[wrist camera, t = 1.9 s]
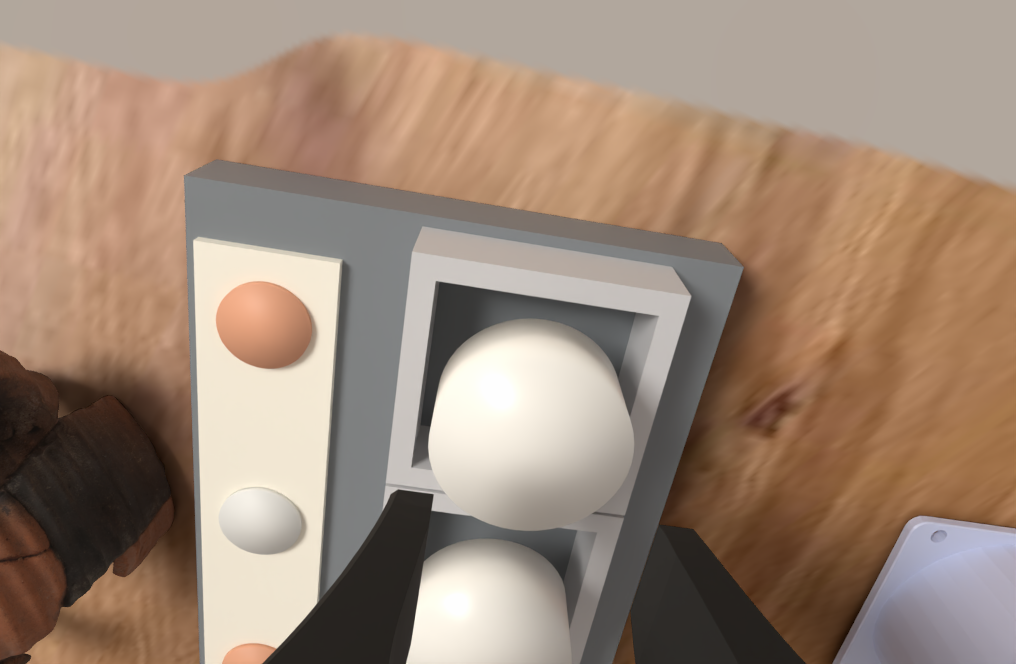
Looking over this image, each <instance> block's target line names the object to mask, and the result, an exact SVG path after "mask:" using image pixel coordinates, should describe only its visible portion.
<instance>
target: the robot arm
mask: <svg viewBox="0 0 1016 664" xmlns="http://www.w3.org/2000/svg"><path fill="white" fill-rule="evenodd" d="M433 497H434V494H429V493H422V492H414V491H407V490H400V489H398V490H396V491H395V492H393V493H391V495H390V497H389V499H388V502H387V504H386V506H385V508H384V510H383V511H382V513H381V515H380V517H379V519H378V520H377V522H376V524H375V525H374V527H373V529H372V530H371V532H370V533H369V535H368V536H367V538H366V539H365V541H364V543H363V544H362V545H361V547H360V548H359V550H358V551H357V552H356V554H355V555H354V557H353V558H352V559H351V561H350V562H349V564H348V565H347V566H346V568H345V569H344V571H343V572H342V573H341V575H340V576H339V577H338V579H337V580H336V581H335V582H334V584H333V585H332V586H331V587H330V588H329V590H328V591H327V592H326V593H325V594H324V596H323V597H322V598H321V599H320V601H319V602H318V603H317V604H316V605H315V607H314V608H313V609H312V610H311V611H310V613H309V614H308V615H307V616H306V617H305V619H304V620H303V621H302V622H301V623H300V624H299V625H298V626H297V627H296V629H295V630H294V631H293V632H292V633H291V634H290V635H289V636H288V637H287V638H286V639H285V641H284V642H283V643H282V644H281V645H280V646H279V647H278V648H277V649H276V650H275V651H274V652H273V653H272V654H271V655H270V656H269V657H268V658H267V659H266V660H265V661H264V662H263V663H262V664H406V662H407V658H408V654H409V650H410V646H411V641H412V634H413V628H414V621H415V615H416V609H417V602H418V596H419V589H420V583H421V576H422V570H423V563H424V556H425V550H426V543H427V537H428V530H429V523H430V517H431V510H432V504H433ZM936 531H938V532H936ZM934 532H936V533H934ZM933 533H934V534H933ZM630 612H631V623H632V635H633V645H634V654H635V663H636V664H806V663H805V662H804V661H803V660H802V659H801V658H800V657H799V656H798V655H797V654H796V652H795V651H794V650H793V649H792V648H791V647H790V646H789V645H788V643H787V642H786V641H785V640H784V639H783V638H782V637H781V636H780V634H779V633H778V632H777V631H776V630H775V629H774V627H773V626H772V625H771V624H770V623H769V622H768V620H767V619H766V618H765V617H764V616H763V614H762V613H761V612H760V611H759V610H758V608H757V607H756V606H755V605H754V604H753V602H752V601H751V600H750V599H749V598H748V596H747V595H746V594H745V593H744V591H743V590H742V589H741V588H740V587H739V585H738V584H737V583H736V582H735V580H734V579H733V578H732V577H731V575H730V574H729V573H728V572H727V570H726V569H725V568H724V567H723V565H722V564H721V563H720V562H719V560H718V559H717V558H716V556H715V555H714V554H713V553H712V551H711V550H710V549H709V548H708V546H707V545H706V544H705V543H704V542H703V540H702V539H701V538H700V537H699V535H698V534H697V533H696V532H695V531H694V530H693V529H688V528H680V527H673V526H666V525H659V526H658V529H657V532H656V535H655V538H654V541H653V544H652V547H651V550H650V553H649V556H648V559H647V562H646V565H645V568H644V571H643V574H642V577H641V580H640V583H639V586H638V589H637V592H636V595H635V598H634V601H633V604H632V607H631V610H630ZM832 664H1016V529H1015V528H1008V527H1001V526H994V525H987V524H979V523H972V522H965V521H958V520H951V519H944V518H937V517H929V516H918V517H915V518H912V519H911V520H909V521H908V522H907V524H906V525H905V527H904V529H903V531H902V532H901V534H900V536H899V538H898V540H897V542H896V544H895V546H894V548H893V549H892V551H891V553H890V555H889V557H888V559H887V561H886V563H885V565H884V567H883V568H882V570H881V572H880V574H879V576H878V578H877V580H876V582H875V584H874V586H873V587H872V589H871V591H870V593H869V595H868V597H867V599H866V601H865V603H864V605H863V606H862V608H861V610H860V612H859V614H858V616H857V618H856V620H855V622H854V624H853V625H852V627H851V629H850V631H849V633H848V635H847V637H846V639H845V641H844V643H843V644H842V646H841V648H840V650H839V652H838V654H837V656H836V658H835V660H834V661H833V663H832Z"/></svg>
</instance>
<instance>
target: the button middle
mask: <svg viewBox="0 0 1016 664" xmlns="http://www.w3.org/2000/svg"><path fill="white" fill-rule="evenodd" d="M406 664H572V653H571V643H570V633H569V623H568V613H567V603H566V593H565V587H564V584H563V581H562V579H561V577H560V575H559V573H558V571H557V570H556V569H555V568H554V566H553V565H552V564H551V563H550V562H549V561H548V560H547V559H546V558H544V557H543V556H542V555H540V554H539V553H537V552H536V551H534V550H532V549H530V548H528V547H526V546H523V545H521V544H518V543H514V542H511V541H506V540H501V539H472V540H466V541H462V542H458V543H455V544H452V545H449V546H447V547H445V548H443V549H441V550H439V551H437V552H436V553H434V554H432V555H431V556H430V557H429V558H427V559H426V560H425V561H424V563H423V570H422V576H421V583H420V589H419V596H418V602H417V609H416V615H415V621H414V628H413V634H412V641H411V646H410V650H409V654H408V658H407V662H406Z"/></svg>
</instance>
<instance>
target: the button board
mask: <svg viewBox="0 0 1016 664" xmlns="http://www.w3.org/2000/svg"><path fill="white" fill-rule="evenodd" d="M184 186H185V217H186V248H187V279H188V310H189V341H190V373H191V404H192V435H193V466H194V497H195V528H196V559H197V590H198V621H199V652H200V664H262V663H263V662H264V661H265V660H266V659H267V658H268V657H269V656H270V655H271V654H272V653H273V652H274V651H275V650H276V649H277V648H278V647H279V646H280V645H281V644H282V643H283V642H284V641H285V639H286V638H287V637H288V636H289V635H290V634H291V633H292V632H293V631H294V630H295V629H296V627H297V626H298V625H299V624H300V623H301V622H302V621H303V620H304V619H305V617H306V616H307V615H308V614H309V613H310V611H311V610H312V609H313V608H314V607H315V605H316V604H317V603H318V602H319V601H320V599H321V598H322V597H323V596H324V594H325V593H326V592H327V591H328V590H329V588H330V587H331V586H332V585H333V584H334V582H335V581H336V580H337V579H338V577H339V576H340V575H341V573H342V572H343V571H344V569H345V568H346V566H347V565H348V564H349V562H350V561H351V559H352V558H353V557H354V555H355V554H356V552H357V551H358V550H359V548H360V547H361V545H362V544H363V543H364V541H365V539H366V538H367V536H368V535H369V533H370V532H371V530H372V529H373V527H374V525H375V524H376V522H377V520H378V519H379V517H380V515H381V513H382V511H383V510H384V508H385V506H386V504H387V502H388V499H389V497H390V495H391V493H393V492H395V491H396V490H398V489H400V490H407V491H414V492H422V493H429V494H434V497H433V504H432V510H431V517H430V523H429V530H428V537H427V543H426V550H425V556H424V561H425V560H426V559H427V558H429V557H430V556H431V555H432V554H434V553H436V552H437V551H439V550H441V549H443V548H445V547H447V546H449V545H452V544H455V543H458V542H462V541H466V540H472V539H501V540H506V541H511V542H514V543H518V544H521V545H523V546H526V547H528V548H530V549H532V550H534V551H536V552H537V553H539V554H540V555H542V556H543V557H544V558H546V559H547V560H548V561H549V562H550V563H551V564H552V565H553V566H554V568H555V569H556V570H557V571H558V573H559V575H560V577H561V579H562V581H563V584H564V587H565V593H566V603H567V613H568V623H569V633H570V643H571V653H572V664H612V662H613V659H614V656H615V653H616V650H617V647H618V644H619V641H620V638H621V635H622V632H623V629H624V626H625V623H626V620H627V617H628V614H629V611H630V608H631V605H632V602H633V599H634V596H635V593H636V590H637V587H638V584H639V581H640V578H641V575H642V572H643V569H644V566H645V563H646V560H647V557H648V554H649V551H650V548H651V545H652V542H653V539H654V536H655V533H656V530H657V527H658V524H659V521H660V518H661V515H662V512H663V509H664V506H665V503H666V500H667V497H668V494H669V491H670V488H671V485H672V482H673V479H674V476H675V473H676V470H677V467H678V464H679V461H680V458H681V455H682V452H683V449H684V446H685V443H686V440H687V437H688V434H689V431H690V428H691V425H692V422H693V419H694V416H695V413H696V410H697V407H698V404H699V401H700V398H701V395H702V391H703V388H704V385H705V382H706V379H707V376H708V373H709V370H710V367H711V364H712V361H713V358H714V355H715V352H716V349H717V346H718V343H719V340H720V337H721V334H722V331H723V328H724V325H725V322H726V319H727V316H728V313H729V310H730V307H731V304H732V301H733V298H734V295H735V292H736V289H737V286H738V283H739V280H740V277H741V274H742V271H743V268H744V267H743V266H742V265H741V263H740V262H739V261H738V260H737V259H736V258H735V257H734V256H733V255H732V254H731V253H730V252H729V251H728V250H727V249H726V247H725V246H724V245H723V244H722V243H717V242H711V241H705V240H699V239H693V238H687V237H681V236H675V235H669V234H663V233H657V232H651V231H645V230H639V229H633V228H627V227H621V226H615V225H609V224H602V223H596V222H590V221H584V220H578V219H572V218H566V217H560V216H554V215H548V214H542V213H536V212H530V211H524V210H518V209H512V208H506V207H500V206H494V205H488V204H482V203H476V202H470V201H464V200H458V199H452V198H446V197H440V196H434V195H428V194H422V193H416V192H410V191H404V190H398V189H392V188H385V187H379V186H373V185H367V184H361V183H355V182H349V181H343V180H337V179H331V178H325V177H319V176H313V175H307V174H301V173H295V172H289V171H283V170H277V169H271V168H265V167H259V166H253V165H247V164H241V163H235V162H229V161H223V160H217V159H216V160H214V161H212V162H210V163H208V164H206V165H204V166H202V167H200V168H198V169H196V170H194V171H192V172H190V173H188V174H186V175H184ZM517 319H544V320H550V321H554V322H559V323H561V324H564V325H567V326H570V327H572V328H574V329H576V330H578V331H580V332H582V333H583V334H585V335H586V336H588V337H589V338H590V339H592V340H593V341H594V342H595V343H596V344H597V345H598V346H599V347H600V348H601V349H602V350H603V351H604V353H605V354H606V355H607V357H608V358H609V360H610V361H611V363H612V365H613V367H614V369H615V372H616V374H617V377H618V381H619V384H620V387H621V391H622V394H623V397H624V400H625V404H626V407H627V410H628V414H629V417H630V421H631V424H632V428H633V434H634V454H633V459H632V464H631V467H630V469H629V472H628V475H627V477H626V478H625V480H624V482H623V484H622V485H621V487H620V488H619V489H618V491H617V492H616V493H615V495H614V496H613V497H612V498H611V499H610V500H609V501H608V502H607V503H606V504H604V505H603V506H602V507H601V508H599V509H598V510H597V511H595V512H594V513H592V514H590V515H589V516H587V517H585V518H583V519H581V520H579V521H577V522H574V523H571V524H569V525H566V526H562V527H558V528H554V529H548V530H540V531H521V530H512V529H506V528H501V527H498V526H494V525H491V524H488V523H486V522H484V521H481V520H479V519H477V518H475V517H473V516H472V515H470V514H468V513H467V512H465V511H464V510H462V509H461V508H460V507H458V506H457V505H456V504H455V503H454V502H453V501H452V500H451V499H450V498H449V497H448V496H447V494H446V493H445V492H444V491H443V490H442V488H441V486H440V485H439V483H438V481H437V480H436V477H435V475H434V473H433V470H432V467H431V463H430V459H429V450H428V443H429V433H430V428H431V422H432V417H433V412H434V407H435V401H436V396H437V391H438V386H439V382H440V378H441V375H442V372H443V370H444V368H445V366H446V364H447V362H448V361H449V359H450V358H451V356H452V355H453V354H454V352H455V351H456V350H457V349H458V348H459V347H460V346H461V345H462V344H463V343H464V342H465V341H466V340H468V339H469V338H470V337H472V336H473V335H475V334H476V333H478V332H480V331H482V330H483V329H485V328H488V327H490V326H493V325H495V324H498V323H502V322H505V321H510V320H517Z"/></svg>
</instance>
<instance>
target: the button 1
mask: <svg viewBox="0 0 1016 664" xmlns="http://www.w3.org/2000/svg"><path fill="white" fill-rule="evenodd" d="M428 450H429V459H430V463H431V467H432V470H433V473H434V475H435V477H436V480H437V481H438V483H439V485H440V486H441V488H442V490H443V491H444V492H445V493H446V494H447V496H448V497H449V498H450V499H451V500H452V501H453V502H454V503H455V504H456V505H457V506H458V507H460V508H461V509H462V510H464V511H465V512H467V513H468V514H470V515H472V516H473V517H475V518H477V519H479V520H481V521H484V522H486V523H488V524H491V525H494V526H498V527H501V528H506V529H512V530H521V531H540V530H548V529H554V528H558V527H562V526H566V525H569V524H571V523H574V522H577V521H579V520H581V519H583V518H585V517H587V516H589V515H590V514H592V513H594V512H595V511H597V510H598V509H599V508H601V507H602V506H603V505H604V504H606V503H607V502H608V501H609V500H610V499H611V498H612V497H613V496H614V495H615V493H616V492H617V491H618V489H619V488H620V487H621V485H622V484H623V482H624V480H625V478H626V477H627V475H628V472H629V469H630V467H631V464H632V459H633V454H634V434H633V428H632V424H631V421H630V417H629V414H628V410H627V407H626V404H625V400H624V397H623V394H622V391H621V387H620V384H619V381H618V377H617V374H616V372H615V369H614V367H613V365H612V363H611V361H610V360H609V358H608V357H607V355H606V354H605V353H604V351H603V350H602V349H601V348H600V347H599V346H598V345H597V344H596V343H595V342H594V341H593V340H592V339H590V338H589V337H588V336H586V335H585V334H583V333H582V332H580V331H578V330H576V329H574V328H572V327H570V326H567V325H564V324H561V323H559V322H554V321H550V320H544V319H517V320H510V321H505V322H502V323H498V324H495V325H493V326H490V327H488V328H485V329H483V330H482V331H480V332H478V333H476V334H475V335H473V336H472V337H470V338H469V339H468V340H466V341H465V342H464V343H463V344H462V345H461V346H460V347H459V348H458V349H457V350H456V351H455V352H454V354H453V355H452V356H451V358H450V359H449V361H448V362H447V364H446V366H445V368H444V370H443V372H442V375H441V378H440V382H439V386H438V391H437V396H436V401H435V407H434V412H433V417H432V422H431V428H430V433H429V443H428Z"/></svg>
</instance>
